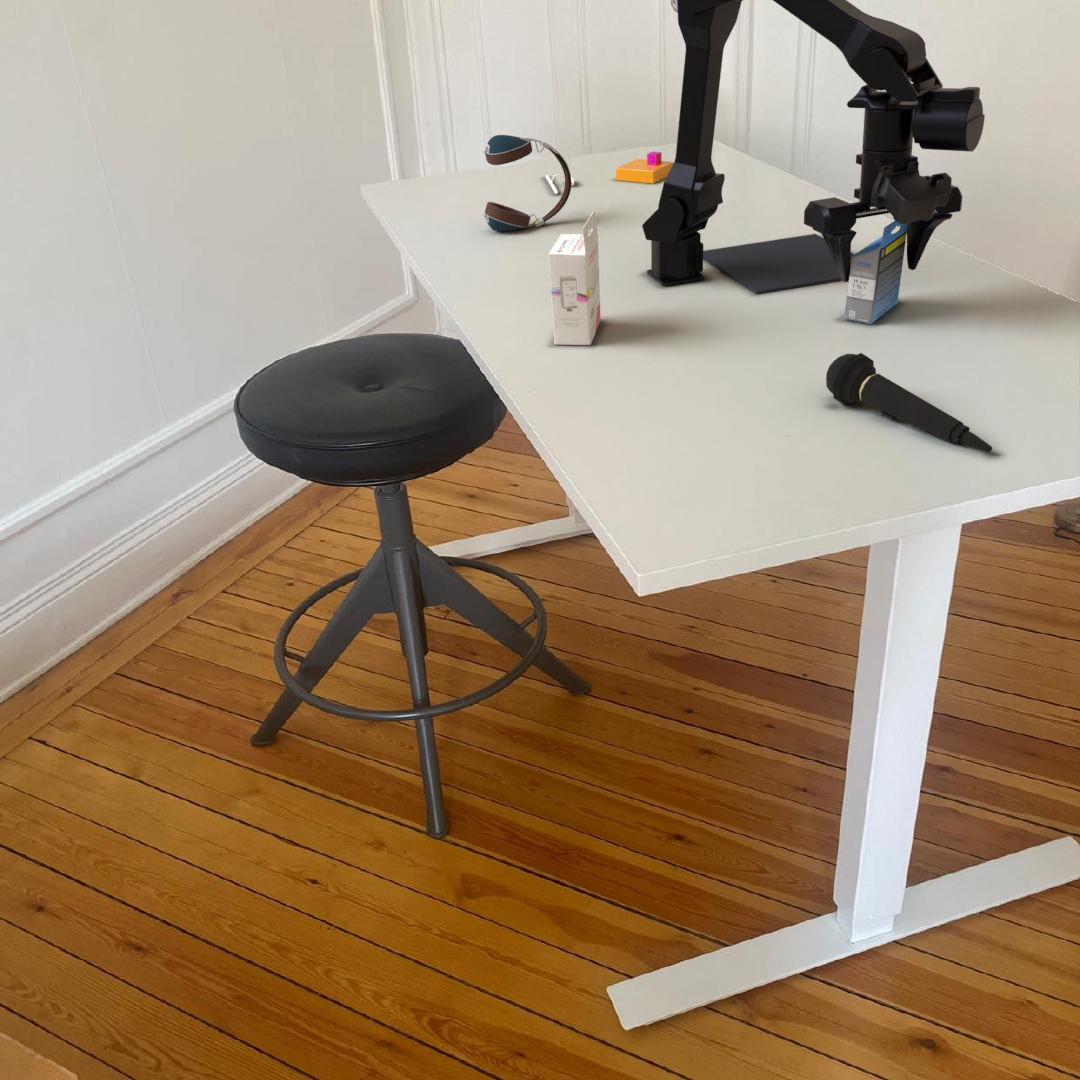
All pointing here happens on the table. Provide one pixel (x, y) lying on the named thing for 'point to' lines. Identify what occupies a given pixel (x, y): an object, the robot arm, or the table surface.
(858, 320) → the blue epson carton
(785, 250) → the desk mat
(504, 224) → the headphones
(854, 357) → the microphone
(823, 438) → the table surface
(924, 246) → the robot arm
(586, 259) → the ink cartridge box
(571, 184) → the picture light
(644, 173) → the orange and magenta block
